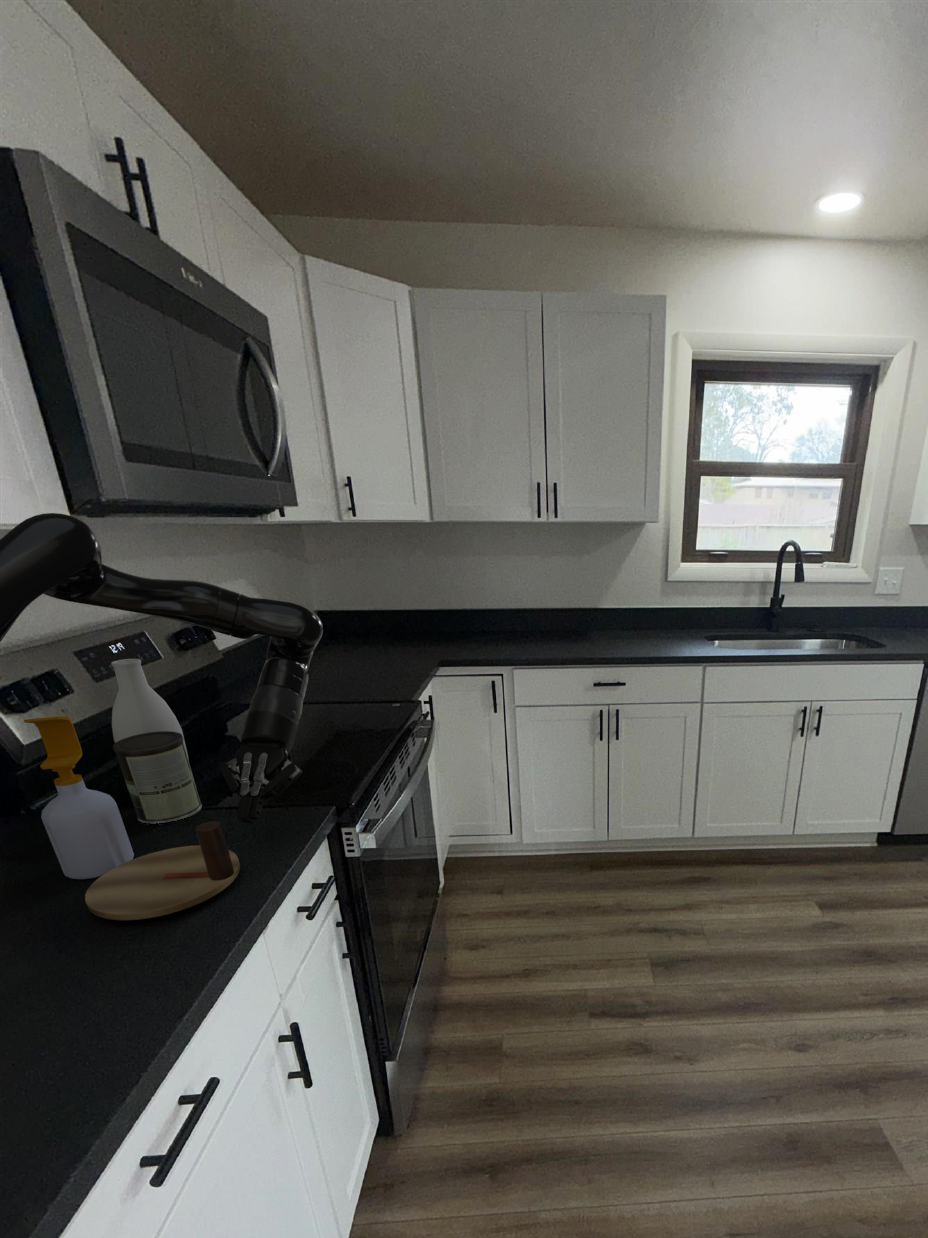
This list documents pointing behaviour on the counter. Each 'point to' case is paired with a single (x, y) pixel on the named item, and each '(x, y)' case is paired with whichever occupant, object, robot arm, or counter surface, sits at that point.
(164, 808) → the coffee can
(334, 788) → the counter surface
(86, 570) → the robot arm
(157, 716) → the bottle
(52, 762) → the soap bottle
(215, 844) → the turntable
